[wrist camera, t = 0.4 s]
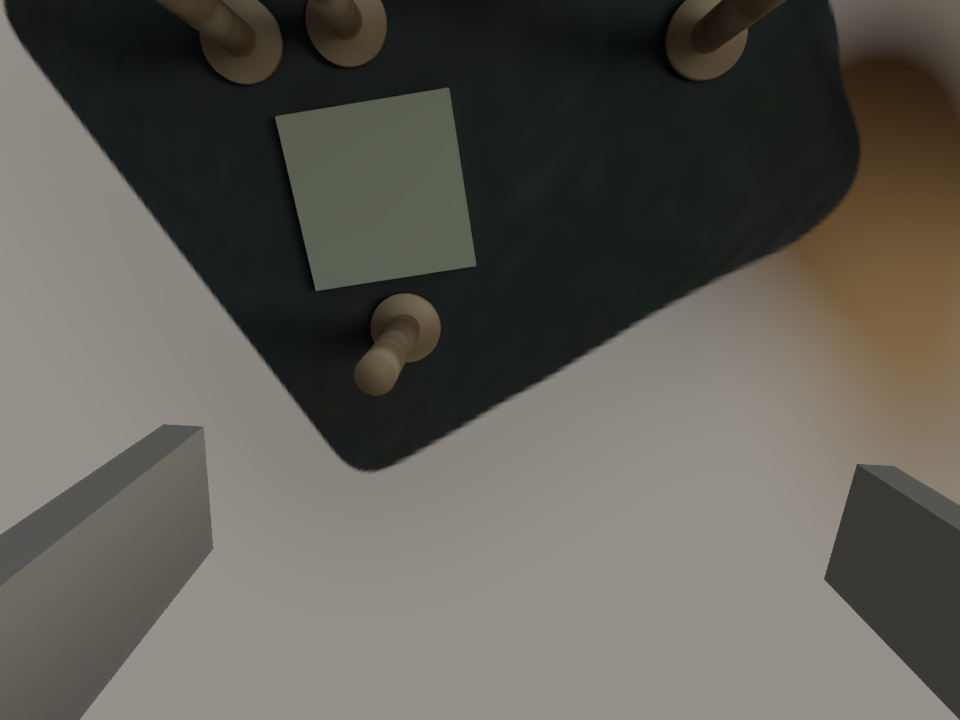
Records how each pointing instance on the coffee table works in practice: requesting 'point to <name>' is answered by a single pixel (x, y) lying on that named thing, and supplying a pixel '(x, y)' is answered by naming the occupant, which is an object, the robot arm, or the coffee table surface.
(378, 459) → the coffee table surface
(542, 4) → the coffee table surface
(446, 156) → the pad
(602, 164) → the coffee table surface
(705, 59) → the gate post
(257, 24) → the light wood frame
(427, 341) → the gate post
